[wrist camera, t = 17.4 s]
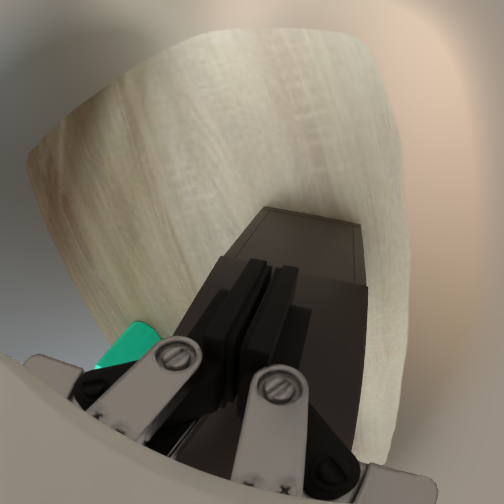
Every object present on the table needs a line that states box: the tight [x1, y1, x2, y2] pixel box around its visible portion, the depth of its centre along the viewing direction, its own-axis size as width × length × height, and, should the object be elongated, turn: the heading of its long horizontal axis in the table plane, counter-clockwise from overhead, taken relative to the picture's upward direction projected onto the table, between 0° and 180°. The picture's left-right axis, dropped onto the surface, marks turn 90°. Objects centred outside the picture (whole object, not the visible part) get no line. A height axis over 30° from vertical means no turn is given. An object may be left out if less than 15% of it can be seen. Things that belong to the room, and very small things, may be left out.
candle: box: [95, 321, 161, 369], centre depth 37 cm, size 6×6×12 cm
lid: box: [173, 256, 368, 480], centre depth 12 cm, size 12×9×1 cm
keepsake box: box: [224, 207, 366, 286], centre depth 24 cm, size 12×9×10 cm
